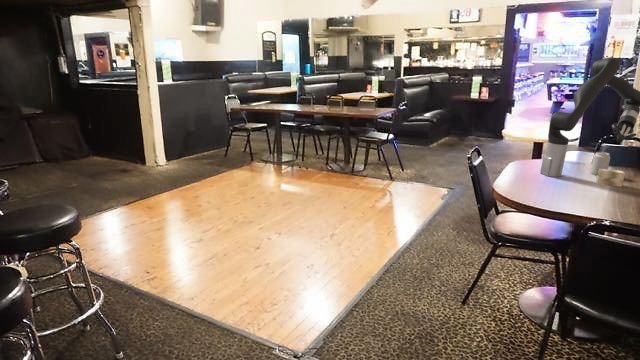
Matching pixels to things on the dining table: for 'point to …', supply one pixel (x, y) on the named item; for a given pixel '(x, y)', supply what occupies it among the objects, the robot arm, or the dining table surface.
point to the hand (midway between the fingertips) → (619, 141)
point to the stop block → (610, 177)
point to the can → (600, 162)
